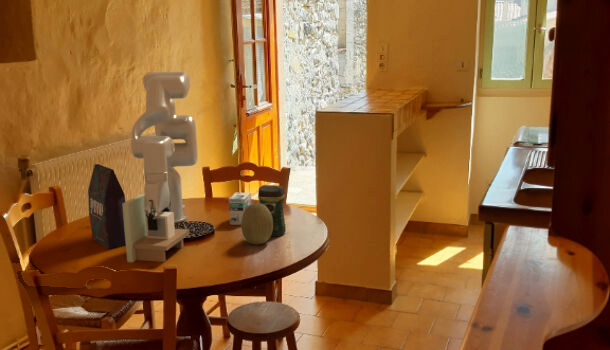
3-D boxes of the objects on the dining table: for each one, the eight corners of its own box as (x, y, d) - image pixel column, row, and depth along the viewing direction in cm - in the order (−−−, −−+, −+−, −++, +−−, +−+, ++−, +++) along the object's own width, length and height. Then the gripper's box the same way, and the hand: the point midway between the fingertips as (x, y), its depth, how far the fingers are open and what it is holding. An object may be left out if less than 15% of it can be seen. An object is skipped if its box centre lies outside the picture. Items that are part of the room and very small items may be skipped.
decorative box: (108, 249, 210) (101, 171, 204) (90, 238, 222) (83, 165, 216) (130, 244, 215) (124, 168, 209) (111, 234, 227) (105, 161, 221)
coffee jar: (287, 231, 228) (286, 183, 224) (281, 237, 220) (280, 188, 216) (263, 229, 230) (262, 182, 226) (256, 235, 223) (255, 187, 218)
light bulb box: (245, 225, 236) (244, 199, 233) (229, 224, 237) (228, 198, 234) (252, 217, 246) (251, 192, 244) (236, 217, 247) (235, 192, 245)
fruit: (253, 236, 222) (252, 197, 218) (279, 240, 216) (278, 201, 213) (235, 245, 212) (234, 205, 209) (262, 250, 207) (261, 208, 203)
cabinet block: (153, 233, 208) (152, 211, 206) (174, 234, 206) (173, 212, 204) (146, 238, 203) (144, 215, 201) (168, 239, 201) (166, 216, 199)
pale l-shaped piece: (155, 242, 217) (151, 189, 212) (191, 244, 214) (188, 190, 209) (127, 261, 198) (122, 203, 193) (166, 264, 195) (162, 205, 190)
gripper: (158, 171, 209) (161, 218, 212) (133, 182, 192) (137, 233, 196) (177, 171, 207) (180, 219, 211) (154, 183, 191) (158, 234, 194)
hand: (159, 225), depth 203 cm, fingers open, 9 cm apart
